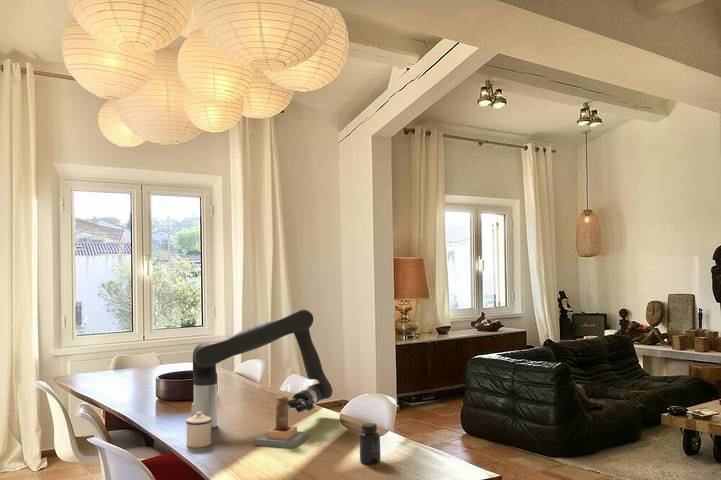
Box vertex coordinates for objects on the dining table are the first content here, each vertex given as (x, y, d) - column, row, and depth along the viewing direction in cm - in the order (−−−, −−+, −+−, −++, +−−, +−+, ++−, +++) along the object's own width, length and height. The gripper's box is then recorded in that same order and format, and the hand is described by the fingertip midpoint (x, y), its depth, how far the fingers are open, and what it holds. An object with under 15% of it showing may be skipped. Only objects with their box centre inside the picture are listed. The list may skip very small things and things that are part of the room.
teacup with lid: (216, 444, 224) (216, 411, 225) (194, 449, 218) (194, 416, 218) (198, 438, 233) (198, 406, 233) (177, 443, 226) (177, 411, 227)
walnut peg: (274, 436, 226) (273, 398, 226) (279, 433, 230) (278, 395, 230) (285, 437, 224) (284, 398, 225) (290, 434, 229) (289, 396, 229)
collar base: (255, 445, 223) (254, 432, 223) (272, 434, 236) (271, 422, 236) (293, 448, 218) (293, 435, 218) (308, 437, 231) (308, 425, 232)
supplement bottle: (379, 458, 206) (379, 421, 206) (381, 464, 199) (380, 427, 199) (359, 458, 205) (358, 422, 206) (360, 465, 199) (359, 427, 199)
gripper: (288, 389, 250) (270, 397, 235) (321, 391, 246) (305, 399, 230) (288, 408, 250) (270, 417, 234) (321, 410, 245) (305, 420, 230)
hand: (287, 408), depth 232 cm, fingers open, 8 cm apart
